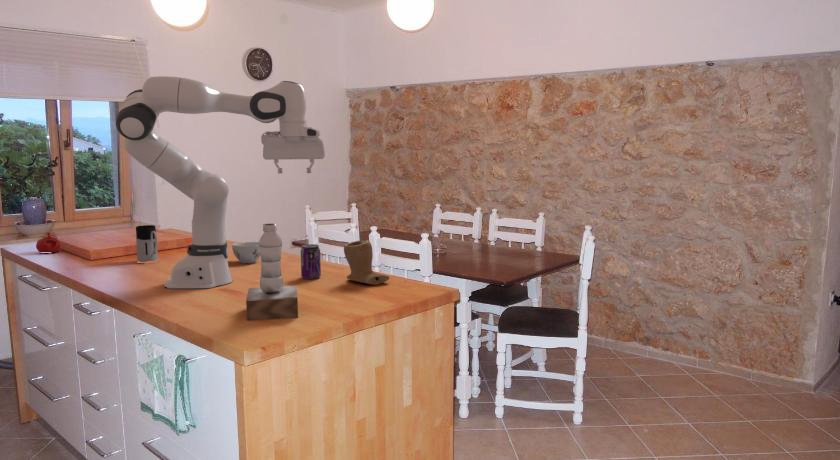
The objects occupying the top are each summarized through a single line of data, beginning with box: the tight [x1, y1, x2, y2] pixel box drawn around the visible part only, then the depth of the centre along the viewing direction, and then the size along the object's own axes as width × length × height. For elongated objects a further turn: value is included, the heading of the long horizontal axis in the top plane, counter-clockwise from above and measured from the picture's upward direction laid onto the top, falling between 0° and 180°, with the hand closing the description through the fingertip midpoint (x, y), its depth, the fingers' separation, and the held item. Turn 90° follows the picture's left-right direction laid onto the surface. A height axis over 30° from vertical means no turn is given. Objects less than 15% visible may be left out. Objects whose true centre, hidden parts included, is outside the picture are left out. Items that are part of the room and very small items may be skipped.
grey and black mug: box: [135, 224, 159, 262], centre depth 254 cm, size 9×14×15 cm, turn 46°
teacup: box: [231, 241, 261, 264], centre depth 255 cm, size 15×12×8 cm
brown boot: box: [343, 239, 390, 286], centre depth 217 cm, size 15×12×15 cm
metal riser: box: [245, 285, 299, 321], centre depth 179 cm, size 14×14×6 cm
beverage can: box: [300, 243, 322, 280], centre depth 225 cm, size 7×7×12 cm
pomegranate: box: [35, 232, 61, 253], centre depth 279 cm, size 10×10×9 cm
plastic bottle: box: [258, 223, 284, 293], centre depth 177 cm, size 6×7×20 cm
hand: (294, 173), depth 205 cm, fingers open, 8 cm apart
